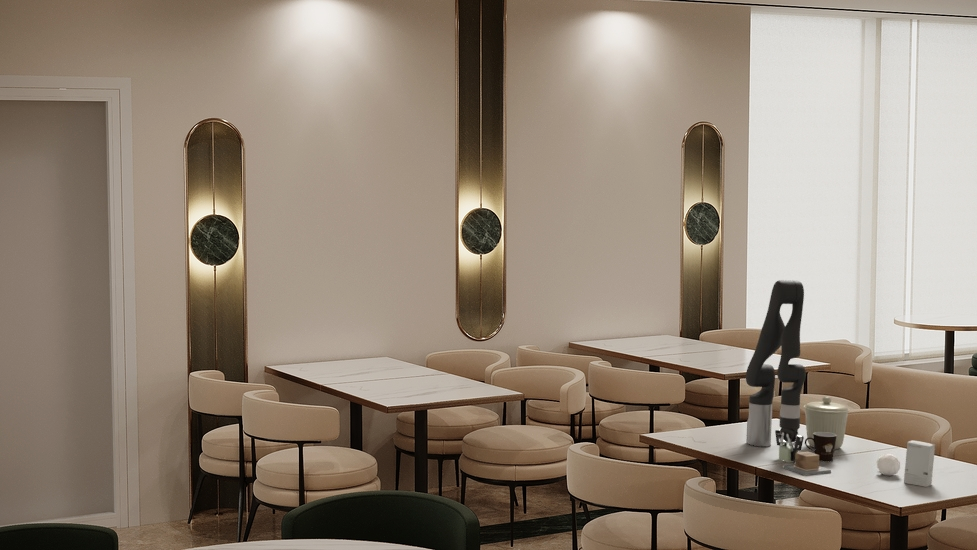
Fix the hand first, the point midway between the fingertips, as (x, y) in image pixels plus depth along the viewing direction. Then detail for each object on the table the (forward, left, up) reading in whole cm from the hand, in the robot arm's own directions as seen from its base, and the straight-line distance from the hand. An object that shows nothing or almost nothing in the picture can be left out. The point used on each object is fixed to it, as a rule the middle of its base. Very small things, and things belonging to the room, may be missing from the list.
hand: (788, 459), depth 391 cm
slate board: (+15, -4, 0) cm, 16 cm away
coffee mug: (+3, +13, -1) cm, 13 cm away
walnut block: (+15, -4, +1) cm, 16 cm away
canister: (-13, +30, -1) cm, 33 cm away
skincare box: (+44, +21, -1) cm, 49 cm away
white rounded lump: (+29, +21, -1) cm, 36 cm away
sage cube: (0, 0, 0) cm, 0 cm away
